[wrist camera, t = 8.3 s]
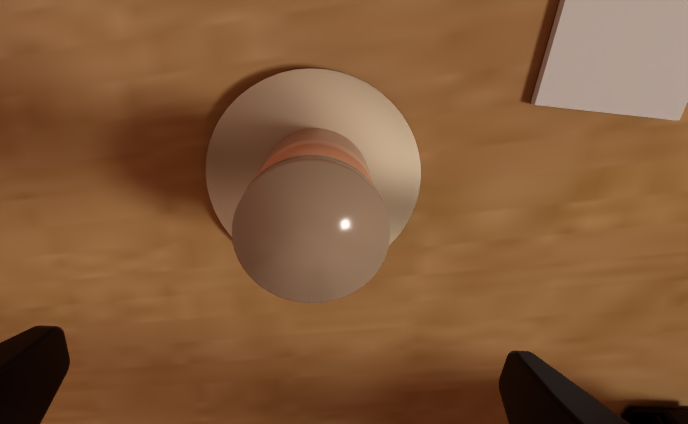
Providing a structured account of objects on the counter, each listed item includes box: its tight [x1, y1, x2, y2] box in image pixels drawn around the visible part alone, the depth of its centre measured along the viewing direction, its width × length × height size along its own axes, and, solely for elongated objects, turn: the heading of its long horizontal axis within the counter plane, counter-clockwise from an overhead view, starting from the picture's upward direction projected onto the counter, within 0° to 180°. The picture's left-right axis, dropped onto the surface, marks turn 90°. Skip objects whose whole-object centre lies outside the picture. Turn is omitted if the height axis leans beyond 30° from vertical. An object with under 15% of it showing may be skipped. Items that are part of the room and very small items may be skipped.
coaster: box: [206, 68, 421, 245], centre depth 18 cm, size 10×10×1 cm
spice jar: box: [232, 128, 390, 303], centre depth 15 cm, size 5×5×6 cm
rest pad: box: [530, 0, 688, 121], centre depth 16 cm, size 7×7×1 cm
